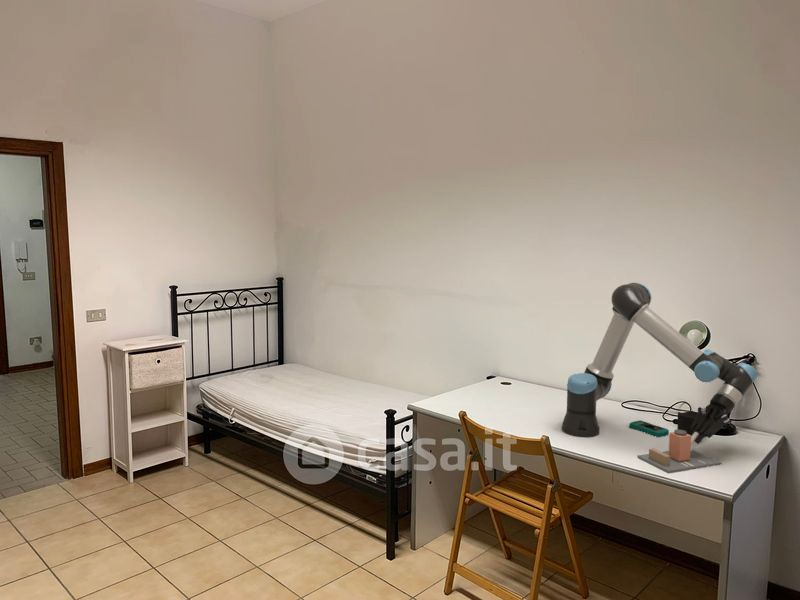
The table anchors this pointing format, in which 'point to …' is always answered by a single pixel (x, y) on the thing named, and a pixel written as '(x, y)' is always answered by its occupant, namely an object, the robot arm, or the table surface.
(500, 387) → the table surface
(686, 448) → the pink capped canister
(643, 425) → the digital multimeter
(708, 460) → the plate
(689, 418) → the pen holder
